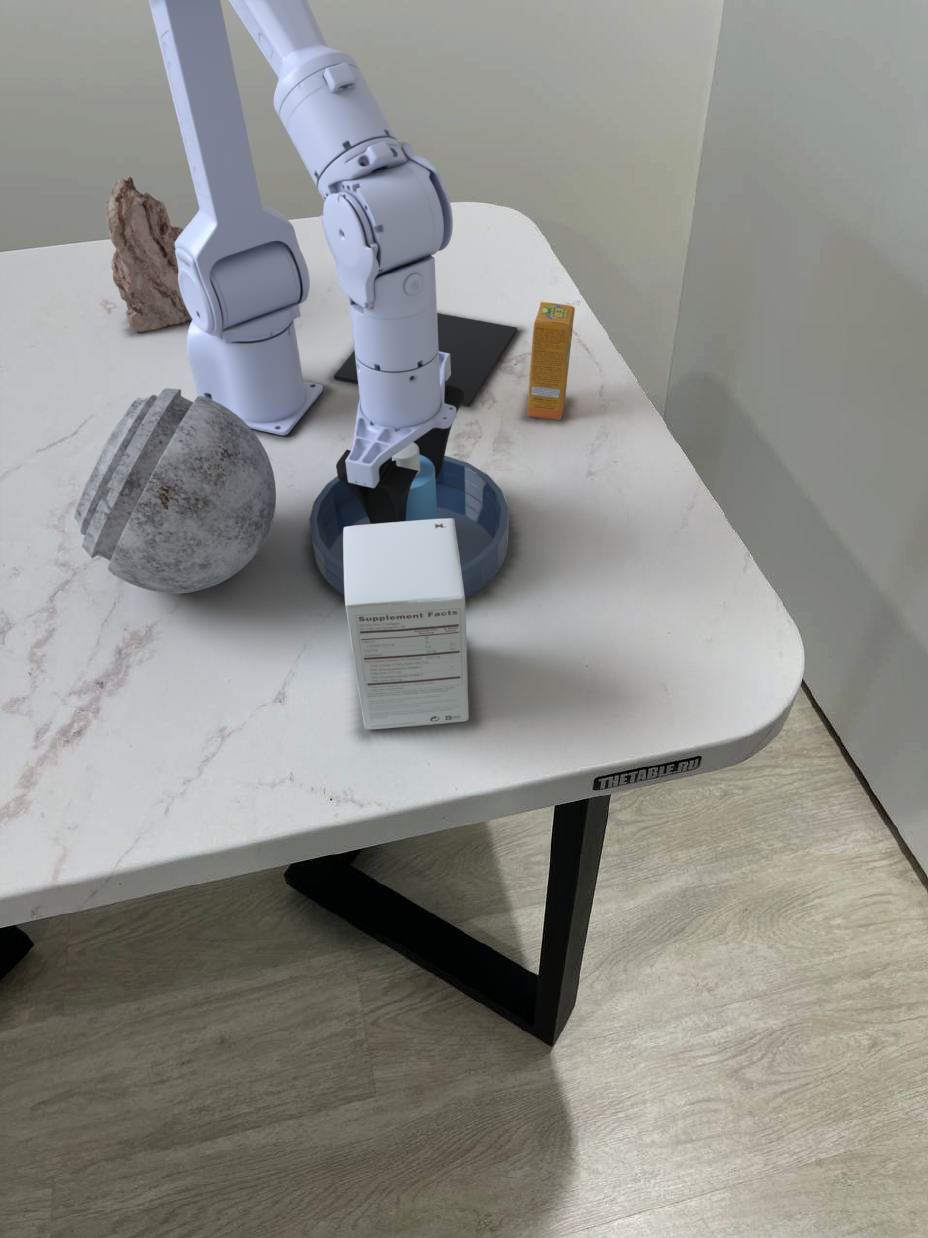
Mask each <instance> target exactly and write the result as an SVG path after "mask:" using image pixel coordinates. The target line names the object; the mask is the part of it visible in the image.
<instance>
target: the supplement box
mask: <svg viewBox="0 0 928 1238" xmlns="http://www.w3.org/2000/svg"><path fill="white" fill-rule="evenodd" d="M575 310H576V309H575V306H573V305H567V304H562V303H555V302H547V301H546V302H545V301H540V303H539V308H538V311H537V315H536V317H535V319H534V322H533V331H532V342H531V343H532V344H531V353H530V366H529V381H528V383H529V384H528V395H527V411H526V412H527V414H526V415H527V416H528V417H530V418H536V419H545V420H553V421H554V420H556V421H560V420H561V419H562V416H563V412H564V408H565V403H566V397H567V396H566V394H567V387H568V385H567V384H568V377H569V376H568V375H569V366H570V357H571V347H572V339H573V329H574V319H575V312H576V311H575Z"/></svg>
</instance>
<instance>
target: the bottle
mask: <svg viewBox="0 0 928 1238" xmlns="http://www.w3.org/2000/svg"><path fill="white" fill-rule="evenodd" d="M394 460H396V465H397V466H400V467H404V468H409V469H413V470H418V473H417V474H416V476H415V478H414V480H413V482H412V485H411V487H410V491H409V494H408V499H407V507H406V521H416V520H428V519H437V502H436V481H435V467H434V465H433V463H432V462H431V461H430V460H429V459H428V458H426V457H424V456H422V455H419V447H418V446H417V444H415V443H414V442H412V443H411V444H409V445H408V446H407V447H405V448H404V449H402V450H401V451H399V452H398V453H397V454H395V455H394V456H392V461H394Z"/></svg>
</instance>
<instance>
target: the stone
mask: <svg viewBox="0 0 928 1238" xmlns="http://www.w3.org/2000/svg"><path fill="white" fill-rule="evenodd" d="M104 208H105V209H104V219H105V223H106V230H107V232H108V236H109V239H110V241H111V243H112V244H113V246H114V248H115V252H114V253H113V255H112V259H111V262H110V268H111V269H112V280H113V283H114V285H115V286H116V287H117V289H118V293H119V296H120V299H122V301H124V302H125V303H126V304H125V305H126V307H127V311H126V313H125V314H126V317H127V319H128V321H129V328H130V329H132V330H133V332H134V333H143V332H149V331H153V330H154V331H155V330H158V329H162V328H166V327H168V326H171V327H172V326H174V325H180V324H182V323H186V322H189V321H191V322H192V320H193V319H192V318H191V316H190V314H189V312H188V310H187V308H186V306H185V303H184V301H183V298H182V295H181V292H180V288H179V283H178V273H179V272H178V264H177V258H176V254H175V250H176V248H175V241H176V240H177V238H178V237H179V235H180V234H181V233H182V231H183V230H184V229H183V228H181V227H179V226H172V225H171V219H170V217H169V213H168V211H167V208H166V206H165V204H164V202H163V200H159V199H156V198H154V197H153V196H152V195H151V194H150V193H149V192H147V191H145V193H144V194H143V193H142V192H140V191H138V190H137V188H136V186H135V184H134V179H133V178H132V177H131V176H128V177H127V178H126V179H123V178H122V179H117V180H116V181H115V183H114V186H113V187H112V189H111V192H110V194H109V196H108V200H107V202H106V203H105V204H104Z"/></svg>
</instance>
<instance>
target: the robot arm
mask: <svg viewBox="0 0 928 1238" xmlns="http://www.w3.org/2000/svg"><path fill="white" fill-rule="evenodd" d="M147 2H148V4H149V8H150V11H151V15H152V16H151V17H152V20H153V24H154V29H155V32H156V36H157V39H158V44H159V45H158V46H159V48H160V52H161V57H162V61H163V65H164V69H165V73H166V77H167V81H168V86H169V89H170V93H171V97H172V102H173V105H174V110H175V113H176V118H177V121H178V126H179V130H180V135H181V138H182V143H183V146H184V150H185V154H186V159H187V163H188V167H189V171H190V175H191V179H192V183H193V187H194V191H195V196H196V199H197V203H198V207H199V209H198V211H197V212H196V214H194V216H193V218H192V219H191V220H190V221H189V223H188V224H186V226H185V228H184V229H183V231H182V233H181V234H180V235H179V237H178V238H177V240H176V241H175V248H176V250H175V254H176V258H177V264H178V272H179V273H178V283H179V288H180V292H181V295H182V298H183V301H184V303H185V306H186V308H187V310H188V312H189V314H190V316H191V318H192V319H193V320H192V321H191V322H190V324H189V326H188V330H187V335H186V354H187V359H188V363H189V367H190V371H191V375H192V380H193V383H194V386H195V387H194V388H195V391H196V395H197V397H198V396H202V397H205V398H208V399H211V400H213V401H215V402H217V403H219V404H221V405H223V406H224V407H226V408H228V409H229V410H230V411H232V412H233V413H235V414H236V415H237V416H238V417H239V418H241V419H242V420H243V421H244V422H245V423H246V424H247V425H248V426H249V427H250V428H251V430H256V431H260V432H265V433H270V434H274V435H279V436H286V435H288V434H289V433H290V432H292V430H293V428H294V427H295V426H296V425H297V423H298V422H299V421H300V420H301V419H302V417H303V416H304V415H305V413H306V412H308V410H309V409H310V407H312V405H313V403H315V401H316V400H317V399H318V397H319V396H320V395H321V394H322V393H323V392H324V387H323V385H322V384H320V383H315V382H310V381H305V380H304V376H303V369H302V364H301V357H300V350H299V345H298V338H297V332H296V331H297V330H296V325H295V320H296V319H297V318H300V317H301V311H300V305H301V304H303V303H305V302H306V301H307V299H308V296H309V292H310V286H311V280H310V279H311V278H310V273H309V269H308V264H307V261H306V259H305V256H304V254H303V253H302V250H301V248H300V245H299V242H298V238H297V234H296V231H295V228H294V225H293V224H292V223H291V221H290V220H289V219H288V218H287V217H286V216H284V215H283V214H282V213H281V212H279V211H278V210H276V209H274V208H271V207H269V206H267V205H265V204H262V200H261V195H260V190H259V186H258V180H257V175H256V171H255V165H254V161H253V156H252V151H251V146H250V145H251V144H250V141H249V136H248V131H247V127H246V126H247V125H246V120H245V116H244V111H243V107H242V102H241V96H240V92H239V88H238V87H239V86H238V82H237V78H236V77H237V76H236V73H235V72H236V71H235V67H234V62H233V57H232V52H231V48H230V41H229V37H228V33H227V27H226V23H225V18H224V13H223V8H222V4H221V0H148V1H147ZM228 2H229V4H230V5H231V6H232V8H233V10H234V11H235V13H236V14H237V16H238V18H239V19H240V20H241V22H242V23H243V25H244V27H245V28H246V30H247V32H248V34H249V35H250V36H251V38H252V39H253V41H254V42H255V44H256V45H257V47H258V49H259V50H260V51H261V53H262V55H263V57H264V58H265V60H266V61H267V63H268V64H269V66H270V67H271V69H272V70H273V71H274V73H275V75H276V77H277V78H278V79H277V84H276V87H275V90H274V95H273V108H274V110H275V112H276V114H277V116H278V118H279V120H280V122H281V123H282V125H283V127H284V129H285V130H286V133H287V134H288V136H289V139H290V140H291V142H292V143H293V145H294V147H295V149H296V151H297V153H298V155H299V157H300V158H301V160H302V163H303V164H304V166H305V168H306V170H307V171H308V173H309V176H310V178H311V179H312V182H313V183H314V185H315V187H316V189H317V190H318V193H319V194H320V196H321V199H322V200H323V202H324V203H323V209H322V210H323V211H322V214H320V218H321V219H320V220H321V225H322V229H323V233H324V237H325V240H326V242H327V245H328V248H329V250H330V252H331V255H332V257H333V260H334V263H335V268H336V273H337V275H336V276H337V282H338V283H339V284H340V289H341V292H342V293H343V294H344V295H346V296H347V297H348V302H349V312H350V323H351V331H352V339H353V340H352V341H353V348H354V350H355V359H356V367H357V376H358V384H357V385H358V394H359V400H358V404H357V412H356V416H355V417H356V419H355V426H354V433H353V440H352V446H351V449H346V450H345V451H343V452H344V453H343V454H342V455H341V456H340V458H339V459H338V460H337V462H336V464H335V467H336V475H337V476H338V478H339V479H340V480H341V481H342V482H343V483H344V484H345V485H346V486H347V487H348V488H349V489H350V490H351V491H352V492H353V493H354V495H355V496H356V497H357V498H358V500H359V501H360V503H361V504H362V506H363V508H364V510H365V512H366V514H367V516H368V518H369V520H370V523H371V524H379V523H392V522H403V521H406V507H407V499H408V494H409V491H410V487H411V485H412V482H413V480H414V478H415V476H416V474H417V473H418V470H413V469H409V468H404V467H400V466H397V465H396V460H394V461H392V456H394V455H395V454H397V453H398V452H399V451H401V450H402V449H404V448H405V447H407V446H408V445H409V444H411V443H412V442H414V443H415V444H417V446H418V447H419V455H422V456H424V457H426V458H428V459H429V460H430V461H431V462H432V463H433V465H434V467H435V478H438V476H439V474H440V472H441V469H442V465H443V461H444V456H446V451H447V447H448V441H449V438H450V433H451V430H452V427H453V424H454V422H455V420H456V419H457V415H458V412H459V410H460V408H461V406H462V405H461V404H462V403H463V401H464V399H465V398H464V391H463V390H462V389H460V388H458V387H454V386H449V385H445V381H447V380H448V378H449V377H450V375H451V365H450V354H449V353H444V352H439V349H438V324H437V313H438V305H437V303H438V302H437V281H436V279H437V278H436V277H437V276H436V261H435V260H436V259H435V257H434V256H433V255H435V254H437V253H438V252H441V251H443V250H444V249H446V248H447V247H448V245H449V244H450V242H451V240H452V236H453V228H454V227H453V226H454V217H453V210H452V205H451V201H450V197H449V194H448V192H447V189H446V187H445V184H444V182H443V181H442V178H441V175H440V173H439V171H438V170H437V168H436V167H435V166H434V165H433V163H432V162H430V160H428V159H427V158H426V157H425V156H423V155H419V154H418V153H417V152H416V151H415V149H414V147H413V145H412V144H411V143H409V142H408V141H407V140H405V141H403V142H402V141H399V140H398V139H397V137H396V135H395V133H394V131H393V129H392V128H391V126H390V124H389V121H388V120H387V118H386V116H385V114H384V113H383V111H382V109H381V107H380V105H379V103H378V101H377V99H376V97H375V96H374V94H373V92H372V90H371V88H370V86H369V84H368V83H367V80H366V79H365V78H366V77H364V74H363V72H362V71H361V69H360V67H359V65H358V64H357V62H356V60H355V59H354V57H353V56H352V55H351V54H349V53H347V52H345V51H342V50H339V49H335V48H332V47H329V46H328V45H327V43H326V40H325V38H324V36H323V33H322V31H321V29H320V27H319V24H318V22H317V19H316V17H315V15H314V13H313V11H312V8H311V6H310V4H309V1H308V0H228Z"/></svg>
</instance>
